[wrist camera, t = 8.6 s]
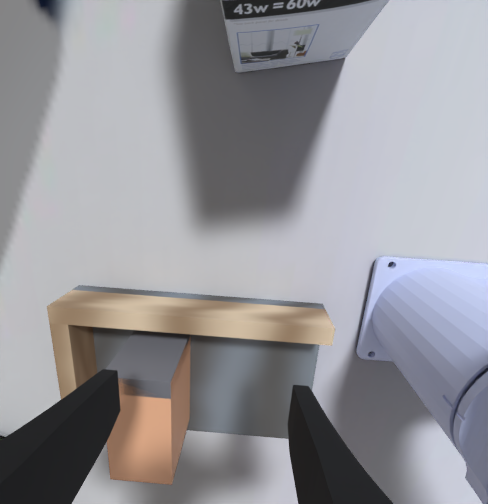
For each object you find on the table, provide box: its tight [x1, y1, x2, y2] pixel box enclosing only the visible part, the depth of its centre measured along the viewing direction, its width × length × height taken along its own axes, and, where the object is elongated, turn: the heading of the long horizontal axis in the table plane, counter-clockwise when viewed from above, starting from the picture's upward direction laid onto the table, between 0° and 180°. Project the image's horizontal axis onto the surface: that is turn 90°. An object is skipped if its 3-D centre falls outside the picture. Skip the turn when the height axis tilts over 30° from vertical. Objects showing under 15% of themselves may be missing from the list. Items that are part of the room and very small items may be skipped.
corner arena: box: [47, 286, 335, 439], centre depth 20 cm, size 18×12×3 cm, turn 86°
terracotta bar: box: [106, 330, 191, 485], centre depth 19 cm, size 8×4×5 cm, turn 176°
